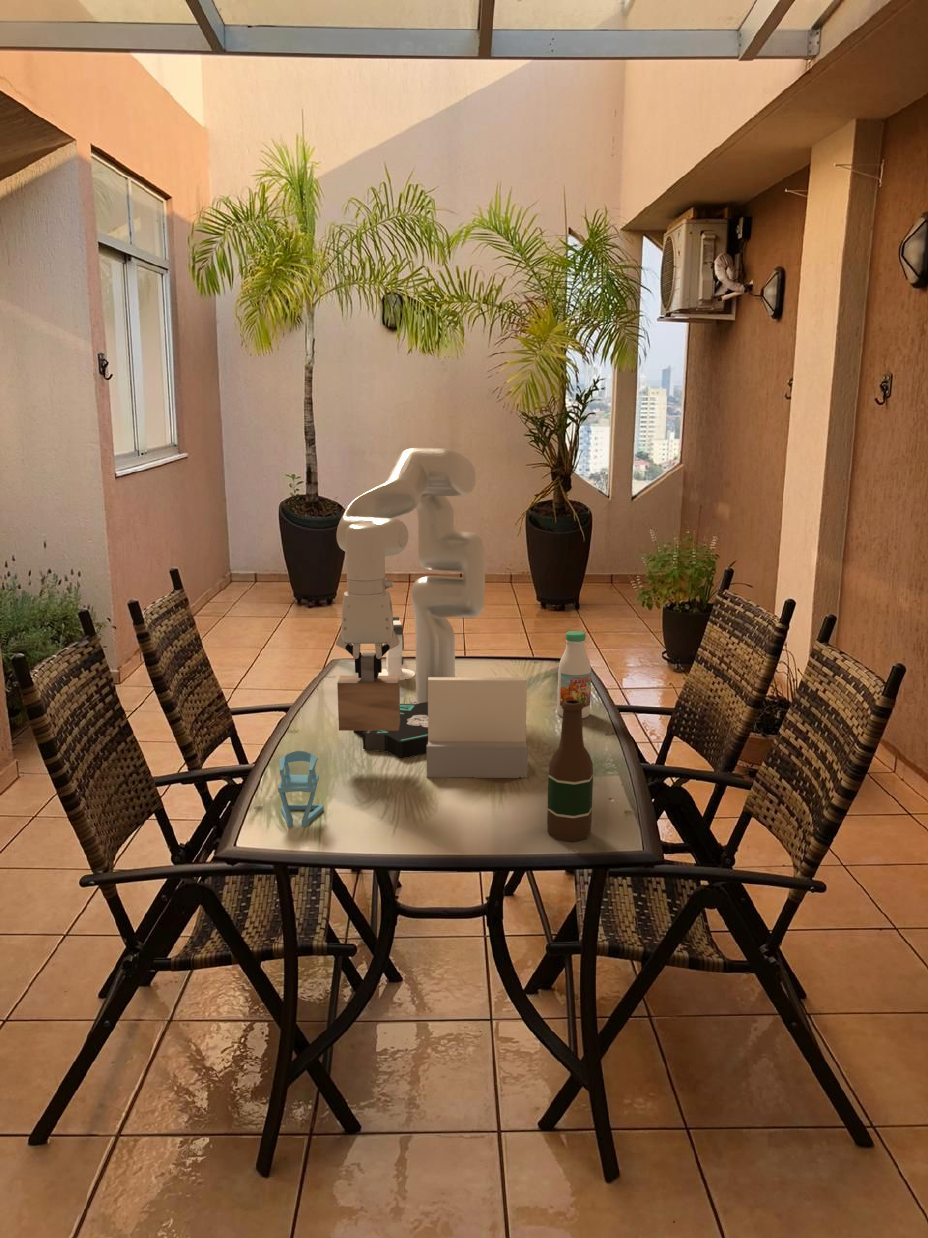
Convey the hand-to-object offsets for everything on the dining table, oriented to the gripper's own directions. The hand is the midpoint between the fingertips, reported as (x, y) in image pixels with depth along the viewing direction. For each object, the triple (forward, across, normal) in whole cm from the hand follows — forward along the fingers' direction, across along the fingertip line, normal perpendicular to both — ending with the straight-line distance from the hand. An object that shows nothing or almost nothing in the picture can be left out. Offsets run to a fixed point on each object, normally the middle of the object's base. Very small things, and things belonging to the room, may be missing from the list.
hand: (368, 675), depth 213 cm
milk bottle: (+21, -45, -35) cm, 60 cm away
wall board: (+19, -22, +2) cm, 29 cm away
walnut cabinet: (+11, 0, 0) cm, 11 cm away
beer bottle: (+19, -38, +33) cm, 54 cm away
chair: (+19, +10, +27) cm, 34 cm away
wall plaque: (+20, -9, -19) cm, 29 cm away
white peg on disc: (+21, 0, -69) cm, 72 cm away
